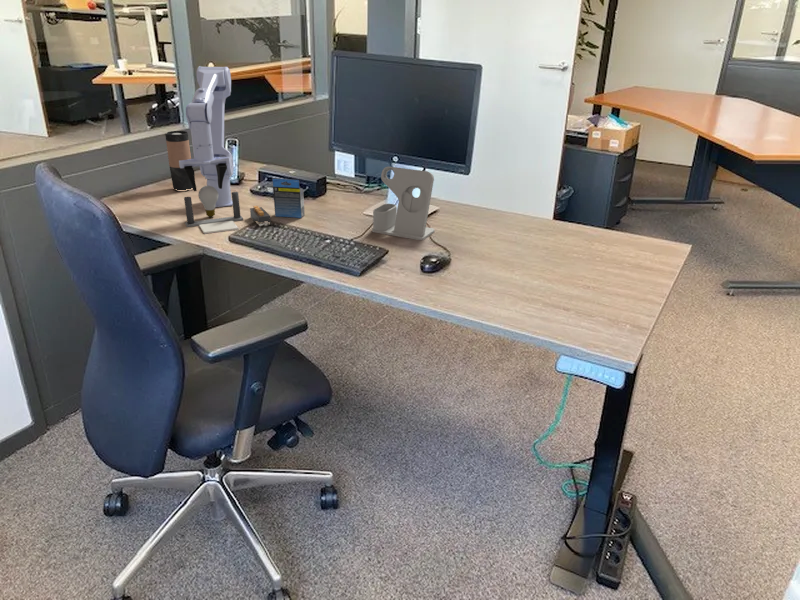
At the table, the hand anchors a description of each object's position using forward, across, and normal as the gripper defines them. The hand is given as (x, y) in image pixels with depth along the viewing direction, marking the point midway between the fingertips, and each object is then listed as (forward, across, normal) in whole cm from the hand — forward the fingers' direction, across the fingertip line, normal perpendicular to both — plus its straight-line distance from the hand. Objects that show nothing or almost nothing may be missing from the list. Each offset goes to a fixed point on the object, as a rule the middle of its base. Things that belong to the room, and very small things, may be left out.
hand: (207, 189), depth 192 cm
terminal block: (+9, +13, -10) cm, 19 cm away
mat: (+9, 0, -11) cm, 15 cm away
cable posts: (+9, 0, -5) cm, 10 cm away
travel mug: (+9, -2, +38) cm, 39 cm away
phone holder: (+9, +49, -36) cm, 62 cm away
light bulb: (+9, 0, 0) cm, 9 cm away
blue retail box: (+9, +23, -8) cm, 26 cm away
